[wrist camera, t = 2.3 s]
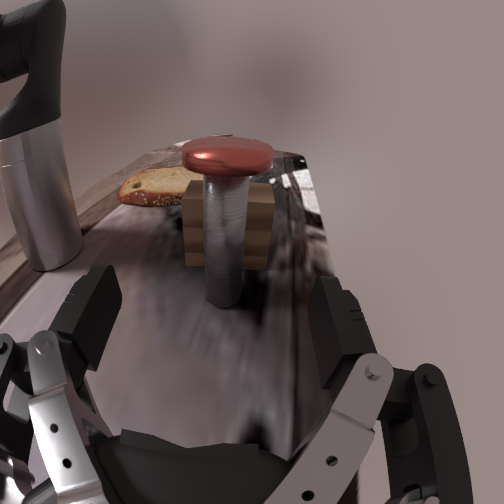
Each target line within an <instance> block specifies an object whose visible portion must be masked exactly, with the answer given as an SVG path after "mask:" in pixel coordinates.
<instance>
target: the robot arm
mask: <svg viewBox="0 0 504 504" xmlns="http://www.w3.org/2000/svg"><path fill="white" fill-rule="evenodd" d="M65 26H66V9H65V5H64V2H63V1H62V0H41V1H39V2H36V3H33V4H30V5H28V6H26V7H22V8H20V9H18V10H15V11H13V12H11V13H9V14H5V15H1V14H0V83H3V82H6V81H9V80H11V79H14V78H16V77H19V76H21V75H24V74H27V73H29V74H28V78H27V81H26V83H25V85H24V87H23V88H22V90H21V91H20V92H19V93H18V95H17V96H16V97H15V98H14V99H13V100H12V101H11V102H10V103H9V104H8V105H7V106H6V107H5V108H4V109H2V110H1V111H0V178H1V182H2V186H3V190H4V194H5V197H6V201H7V205H8V208H9V212H10V215H11V218H12V221H13V224H14V227H15V230H16V233H17V235H18V238H19V241H20V244H21V246H22V249H23V251H24V254H25V256H26V258H27V261H28V263H29V265H30V267H31V268H32V269H34V270H37V271H48V270H52V269H55V268H58V267H60V266H62V265H64V264H66V263H67V262H69V261H70V260H72V259H73V258H74V257H75V256H76V255H77V254H78V253H79V252H80V250H81V248H82V246H83V236H82V233H81V229H80V225H79V221H78V218H77V213H76V209H75V205H74V200H73V196H72V191H71V186H70V181H69V175H68V170H67V164H66V157H65V150H64V142H63V135H62V124H61V117H60V116H61V110H60V76H61V75H60V74H61V60H62V50H63V42H64V35H65ZM121 304H122V293H121V290H120V287H119V284H118V280H117V277H116V274H115V270H114V268H113V266H112V265H106V264H94V265H93V266H92V267H91V269H90V271H89V272H88V274H87V275H83V276H82V277H81V278H80V279H79V280H78V281H77V282H75V284H74V285H73V287H72V288H71V290H70V292H69V294H68V295H67V297H66V298H65V302H63V304H62V305H61V307H60V309H59V311H58V312H57V314H56V316H55V318H54V320H53V322H52V323H51V325H50V327H49V329H48V330H43V331H40V332H38V333H36V334H35V335H34V336H33V337H32V338H31V339H30V341H29V342H20V343H15V341H14V340H13V339H12V337H11V336H10V335H9V334H6V333H3V334H0V504H337V502H338V501H339V499H340V498H341V496H342V494H343V493H344V491H345V490H346V488H347V486H348V485H349V483H350V482H351V480H352V478H353V476H354V475H355V473H356V471H357V470H358V468H359V466H360V464H361V462H362V460H363V459H364V457H365V455H366V453H367V451H368V449H369V447H370V445H371V443H372V441H373V438H374V435H375V431H374V430H373V426H374V424H375V421H376V420H380V421H381V426H382V432H383V439H384V445H385V451H386V458H387V466H388V475H389V484H390V495H391V498H390V499H389V500H388V501H387V502H386V503H385V504H473V494H472V486H471V479H470V472H469V466H468V461H467V456H466V451H465V446H464V442H463V437H462V433H461V429H460V426H459V422H458V418H457V415H456V411H455V408H454V404H453V401H452V398H451V395H450V392H449V389H448V386H447V383H446V380H445V378H444V375H443V373H442V371H441V370H440V369H439V368H438V367H436V366H434V365H432V364H428V363H427V364H422V365H420V366H419V367H418V368H417V369H416V370H415V371H409V370H403V369H397V368H394V367H392V365H391V364H390V362H389V361H388V360H387V359H386V358H384V357H383V356H381V355H379V354H378V353H377V351H376V348H375V345H374V343H373V340H372V337H371V334H370V332H369V329H368V326H367V323H366V321H365V320H364V319H365V318H364V315H363V313H362V312H361V308H360V305H359V303H358V300H357V299H356V298H355V296H354V295H353V294H352V293H351V292H350V291H349V290H342V287H341V285H340V282H339V280H338V278H337V277H329V276H318V277H317V278H316V281H315V284H314V288H313V291H312V295H311V298H310V302H309V306H308V320H309V325H310V330H311V335H312V340H313V345H314V350H315V355H316V360H317V366H318V371H319V377H320V382H321V388H322V389H331V390H332V395H333V396H332V397H331V399H330V400H329V402H328V404H327V405H326V407H325V409H324V410H323V412H322V413H321V415H320V416H319V418H318V420H317V421H316V423H315V424H314V426H313V427H312V429H311V430H310V432H309V433H308V434H307V436H306V437H305V438H304V440H303V441H302V442H301V444H300V445H299V446H298V447H297V449H296V450H295V451H294V453H293V454H292V455H291V457H290V458H289V459H288V461H286V460H284V459H282V458H281V457H279V456H276V455H274V454H272V453H269V452H266V451H262V450H258V444H229V443H222V444H216V445H209V446H202V447H195V448H184V447H181V446H178V445H176V444H173V443H171V442H168V441H166V440H163V439H161V438H158V437H156V436H154V435H149V434H144V433H139V432H135V431H130V430H126V429H122V432H121V435H118V436H113V434H112V433H111V431H110V429H109V428H108V426H107V425H106V423H105V422H104V421H103V419H102V417H101V415H100V413H99V411H98V408H97V406H96V403H95V401H94V398H93V396H92V393H91V390H90V387H89V385H88V382H87V379H86V377H85V376H84V375H85V372H86V370H91V371H95V372H96V371H97V368H98V366H99V363H100V360H101V357H102V354H103V351H104V349H105V346H106V343H107V341H108V338H109V335H110V333H111V330H112V328H113V325H114V323H115V320H116V318H117V315H118V313H119V310H120V308H121ZM10 380H11V381H12V382H13V383H14V384H15V386H14V389H13V392H12V396H11V399H10V402H9V405H8V409H7V411H6V412H5V410H4V408H3V399H4V396H5V393H6V390H7V387H8V384H9V381H10ZM34 430H35V434H36V438H37V441H38V444H39V447H40V450H41V453H42V456H43V459H44V462H45V465H46V467H47V470H48V473H49V475H50V477H49V478H48V479H47V480H45V481H44V482H42V483H41V484H40V485H38V486H37V487H35V488H34V489H32V486H31V485H33V484H34V483H35V478H34V476H33V474H32V473H30V471H29V469H28V460H29V454H30V449H31V443H32V438H33V434H34Z"/></svg>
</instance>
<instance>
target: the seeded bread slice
mask: <svg viewBox="0 0 504 504" xmlns="http://www.w3.org/2000/svg"><path fill="white" fill-rule="evenodd" d="M190 180H203V175H202V174H198V173H194V172H191V171H189V170H187V169H186V168H184V167H175V168H162V169H154V170H152V169H150V170H141V171H140V172H139V173H137V174H134V175H133V176H131V177H130V178H129V179H128V180H127V181H126V182H125V183H124V184H123V186H122V187H121V189H120V192H119V194H118V199H119V201H120V202H121V203H122V204H133V205H138V206H144V207H159V206H170V205H178V204H182V203H181V198H182V196H183V194H184V192H185V190H186V188H187V186H188V184H189V182H190Z"/></svg>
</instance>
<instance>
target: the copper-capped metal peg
mask: <svg viewBox="0 0 504 504" xmlns="http://www.w3.org/2000/svg"><path fill="white" fill-rule="evenodd" d="M272 158H273V148H272V147H271V146H270V145H268V144H266V143H264V142H260V141H257V140H253V139H247V138H240V137H207V138H200V139H195V140H192V141H189V142H187V143H185V144H184V145H183V146H182V165H183V167H184V168H186V169H187V170H189V171H191V172H194V173H198V174H202V175H203V228H204V263H205V286H206V298H207V300H208V301H209V302H210V303H211V304H212V305H214V306H217V307H224V308H225V307H230V306H233V305H235V304H236V303H237V302H238V301H239V300H240V296H241V283H242V269H243V255H244V242H245V229H246V216H247V203H248V190H249V178H250V176H253V175H258V174H262V173H264V172H267V171H268V170H270V169H271V167H272Z"/></svg>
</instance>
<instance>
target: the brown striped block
mask: <svg viewBox="0 0 504 504" xmlns="http://www.w3.org/2000/svg"><path fill="white" fill-rule="evenodd" d="M181 203H182V221H183V236H184V249H185V261H186V266H193V267H205V263H204V228H203V180H190V182H189V184H188V186H187V188H186V190H185V192H184V194H183V196H182V198H181ZM274 208H275V201H274V196H273V191H272V186H271V184H264V183H250V182H249V190H248V203H247V216H246V229H245V242H244V255H243V269H247V270H266V266H267V259H268V252H269V245H270V237H271V230H272V223H273V215H274Z"/></svg>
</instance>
